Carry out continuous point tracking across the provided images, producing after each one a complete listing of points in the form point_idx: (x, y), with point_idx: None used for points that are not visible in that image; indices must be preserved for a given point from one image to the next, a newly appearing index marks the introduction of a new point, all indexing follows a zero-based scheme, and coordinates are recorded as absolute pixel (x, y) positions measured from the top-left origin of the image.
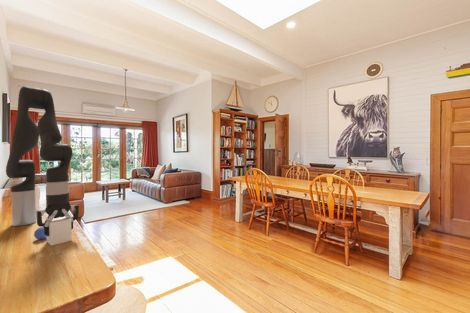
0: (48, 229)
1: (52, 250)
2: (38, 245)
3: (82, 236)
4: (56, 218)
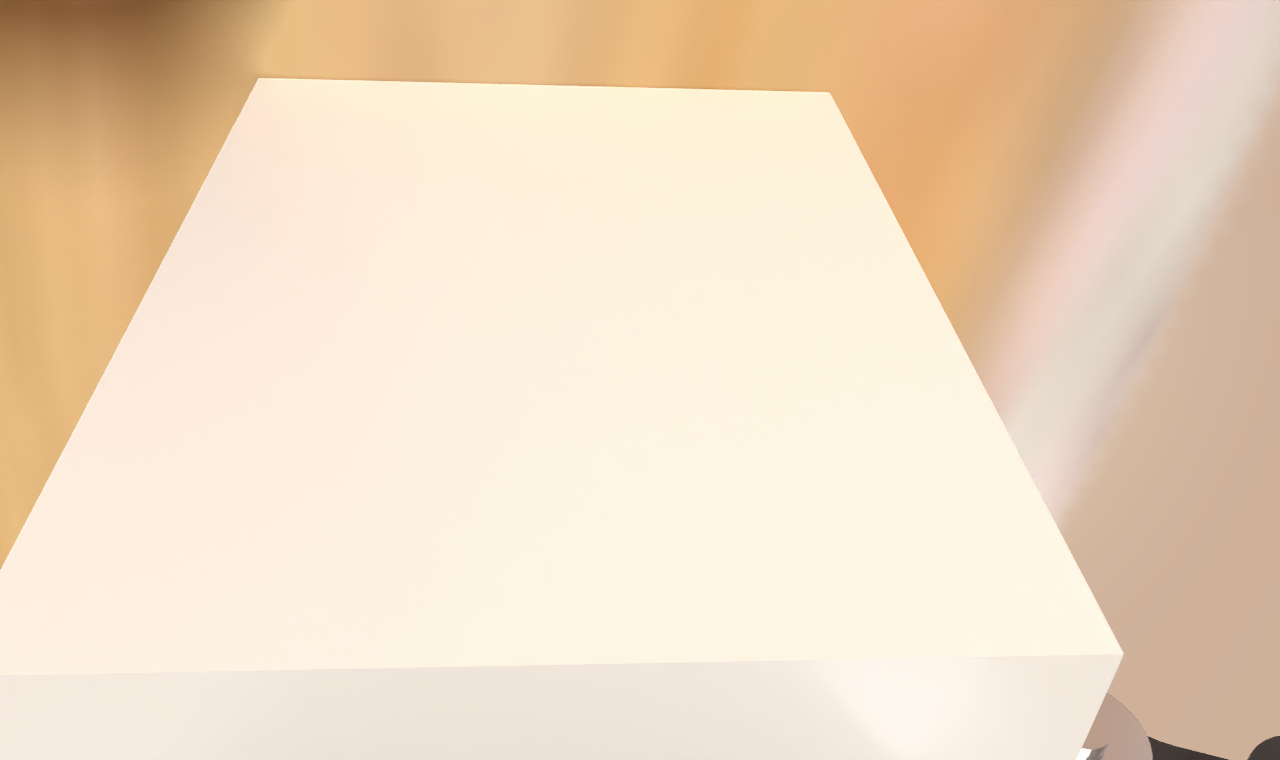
0: None
1: None
2: (40, 242)
3: (1064, 409)
4: (540, 709)
